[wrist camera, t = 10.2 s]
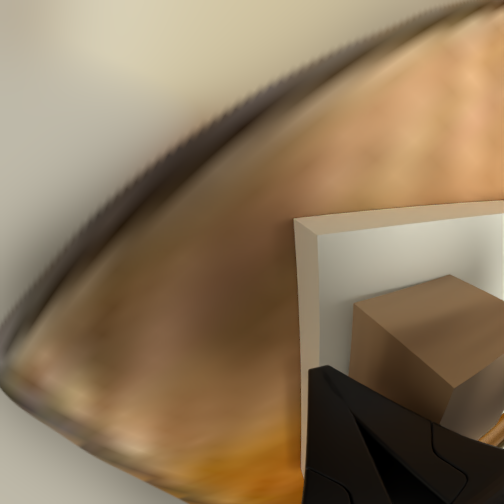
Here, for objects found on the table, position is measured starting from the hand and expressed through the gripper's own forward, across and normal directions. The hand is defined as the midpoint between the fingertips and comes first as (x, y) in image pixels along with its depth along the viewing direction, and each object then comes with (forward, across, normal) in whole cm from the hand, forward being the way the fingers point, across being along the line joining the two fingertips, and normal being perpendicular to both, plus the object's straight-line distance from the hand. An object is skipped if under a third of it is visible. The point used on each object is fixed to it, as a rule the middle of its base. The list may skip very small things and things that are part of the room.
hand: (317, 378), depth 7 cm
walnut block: (+1, -3, 0) cm, 4 cm away
